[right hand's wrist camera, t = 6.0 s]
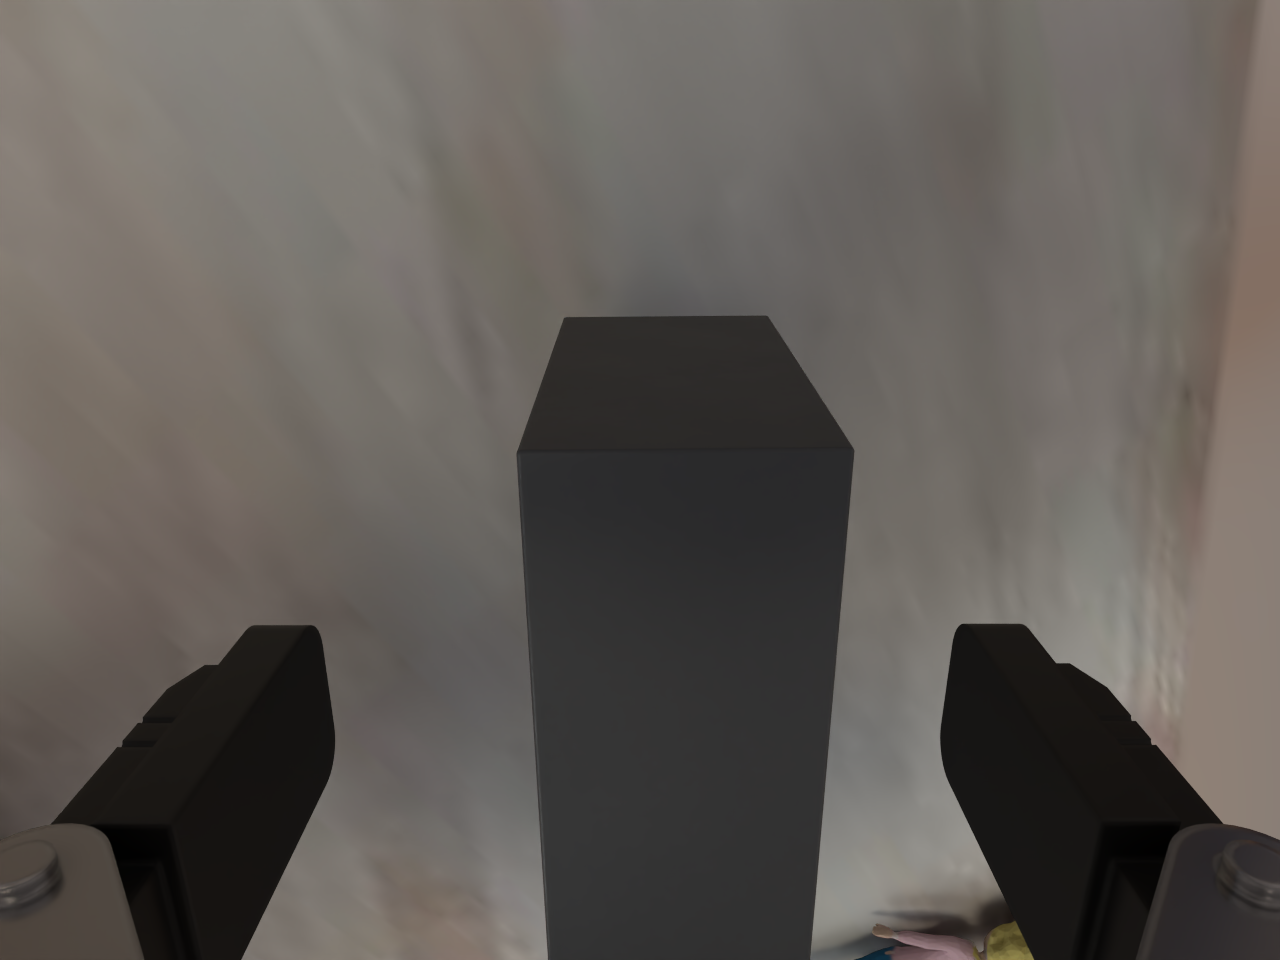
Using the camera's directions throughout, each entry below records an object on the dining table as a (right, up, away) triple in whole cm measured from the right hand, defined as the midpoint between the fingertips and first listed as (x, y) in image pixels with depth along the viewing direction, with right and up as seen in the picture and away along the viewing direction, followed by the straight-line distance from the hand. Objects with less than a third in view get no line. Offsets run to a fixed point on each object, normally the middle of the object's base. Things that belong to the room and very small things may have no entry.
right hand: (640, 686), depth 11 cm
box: (+1, -4, +19) cm, 20 cm away
